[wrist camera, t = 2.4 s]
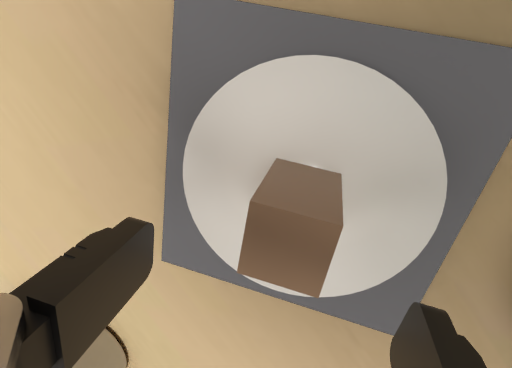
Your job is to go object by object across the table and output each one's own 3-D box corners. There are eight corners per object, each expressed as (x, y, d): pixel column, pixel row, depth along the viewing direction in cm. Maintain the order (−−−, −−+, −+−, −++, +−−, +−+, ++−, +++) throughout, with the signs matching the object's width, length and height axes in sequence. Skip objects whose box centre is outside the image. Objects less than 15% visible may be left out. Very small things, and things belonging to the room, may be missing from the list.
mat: (547, 55, 12) (556, 55, 11) (398, 329, 19) (400, 337, 18) (180, -8, 14) (174, -10, 14) (166, 255, 21) (161, 260, 21)
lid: (494, 86, 12) (615, 107, 7) (384, 312, 18) (405, 422, 12) (201, 32, 14) (119, 15, 9) (183, 249, 20) (125, 320, 14)
